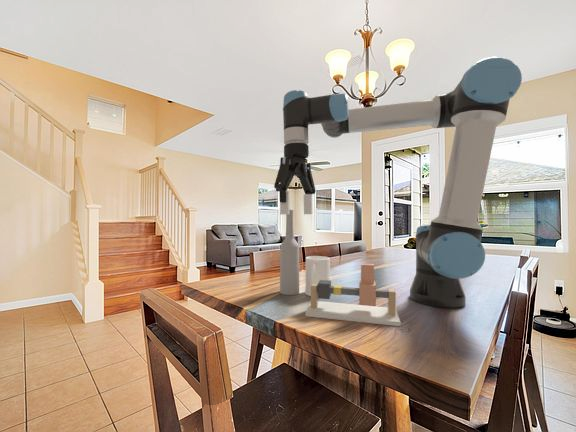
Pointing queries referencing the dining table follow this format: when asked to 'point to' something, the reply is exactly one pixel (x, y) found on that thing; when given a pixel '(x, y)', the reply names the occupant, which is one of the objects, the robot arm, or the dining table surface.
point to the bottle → (289, 260)
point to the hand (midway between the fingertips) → (297, 214)
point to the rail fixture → (351, 305)
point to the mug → (316, 271)
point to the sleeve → (367, 286)
